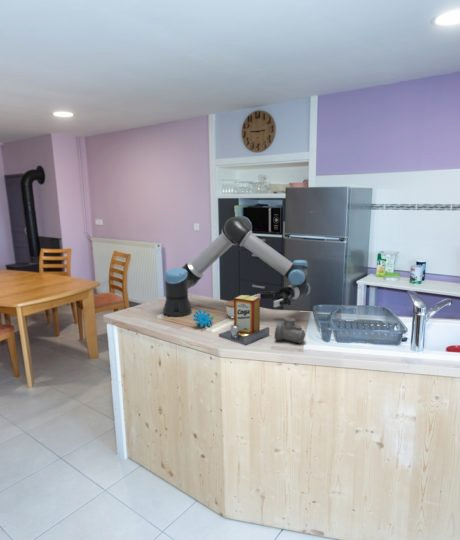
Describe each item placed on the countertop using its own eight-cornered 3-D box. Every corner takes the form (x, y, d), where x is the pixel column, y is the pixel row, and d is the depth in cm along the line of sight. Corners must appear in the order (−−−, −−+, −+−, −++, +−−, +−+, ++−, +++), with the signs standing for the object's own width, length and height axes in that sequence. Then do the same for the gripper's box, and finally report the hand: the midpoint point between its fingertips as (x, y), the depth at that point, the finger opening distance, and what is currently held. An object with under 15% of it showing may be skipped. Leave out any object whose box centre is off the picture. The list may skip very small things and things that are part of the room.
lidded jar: (221, 317, 200) (221, 299, 199) (237, 313, 207) (236, 296, 206) (235, 321, 192) (235, 303, 191) (250, 317, 199) (250, 299, 198)
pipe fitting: (272, 341, 165) (275, 318, 163) (278, 336, 172) (282, 314, 170) (299, 348, 160) (303, 325, 158) (304, 343, 167) (308, 321, 165)
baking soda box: (259, 330, 175) (259, 296, 172) (253, 335, 169) (253, 299, 166) (240, 327, 179) (240, 294, 176) (234, 332, 174) (233, 297, 171)
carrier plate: (218, 336, 172) (218, 323, 171) (242, 327, 184) (242, 315, 183) (246, 345, 162) (246, 331, 161) (269, 335, 173) (269, 322, 172)
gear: (197, 327, 179) (192, 309, 184) (192, 333, 183) (187, 315, 188) (217, 326, 186) (211, 308, 191) (212, 332, 190) (206, 314, 195)
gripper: (309, 305, 187) (284, 314, 172) (268, 296, 204) (242, 304, 189) (310, 290, 186) (284, 298, 171) (269, 282, 203) (242, 289, 187)
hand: (262, 301), depth 180 cm, fingers open, 13 cm apart
